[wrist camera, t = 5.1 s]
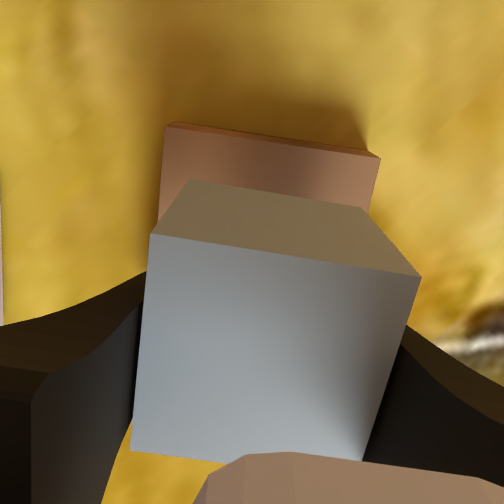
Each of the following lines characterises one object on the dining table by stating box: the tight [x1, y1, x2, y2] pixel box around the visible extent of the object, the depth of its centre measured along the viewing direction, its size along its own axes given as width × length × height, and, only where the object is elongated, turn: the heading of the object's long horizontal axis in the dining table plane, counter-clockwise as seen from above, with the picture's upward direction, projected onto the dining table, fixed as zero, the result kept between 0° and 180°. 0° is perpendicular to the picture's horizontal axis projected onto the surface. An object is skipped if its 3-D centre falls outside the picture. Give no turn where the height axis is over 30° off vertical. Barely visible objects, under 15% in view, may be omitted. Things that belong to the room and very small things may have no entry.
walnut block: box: [158, 122, 381, 222], centre depth 19 cm, size 8×8×2 cm
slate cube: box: [130, 179, 422, 464], centre depth 11 cm, size 5×5×5 cm
